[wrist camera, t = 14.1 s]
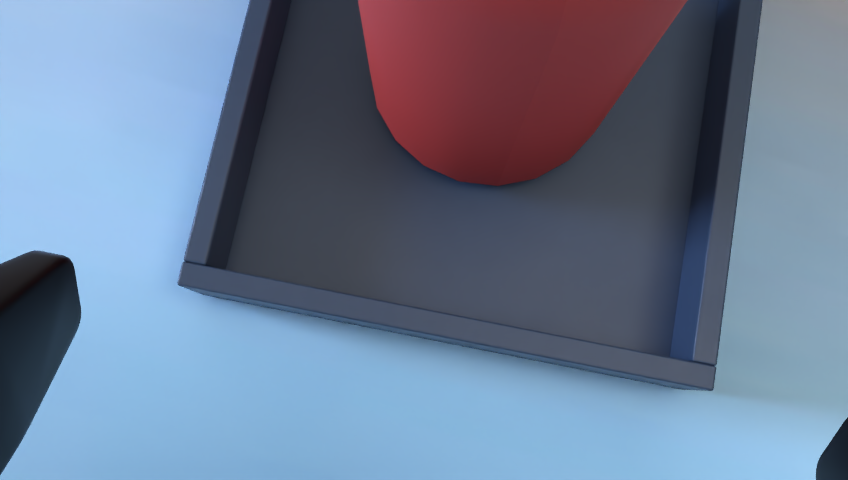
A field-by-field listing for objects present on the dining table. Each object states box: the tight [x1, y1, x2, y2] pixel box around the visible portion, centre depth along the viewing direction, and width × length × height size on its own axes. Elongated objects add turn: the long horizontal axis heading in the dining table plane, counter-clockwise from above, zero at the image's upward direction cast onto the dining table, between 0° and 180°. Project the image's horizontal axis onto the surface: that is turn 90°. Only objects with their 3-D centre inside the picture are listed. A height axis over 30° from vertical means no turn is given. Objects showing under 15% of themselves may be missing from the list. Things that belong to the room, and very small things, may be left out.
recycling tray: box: [178, 0, 762, 391], centre depth 21 cm, size 15×13×2 cm
